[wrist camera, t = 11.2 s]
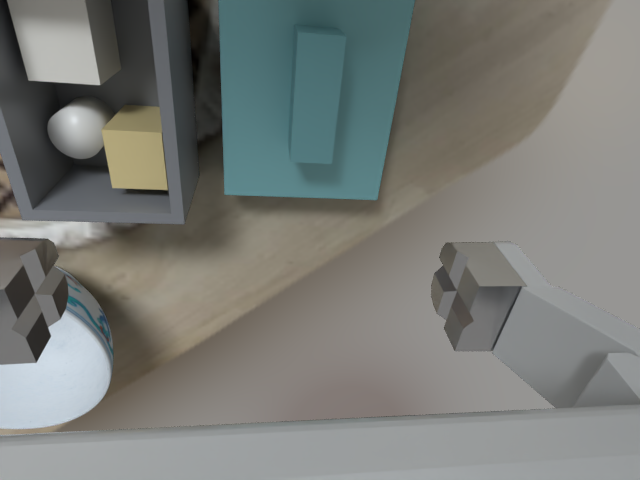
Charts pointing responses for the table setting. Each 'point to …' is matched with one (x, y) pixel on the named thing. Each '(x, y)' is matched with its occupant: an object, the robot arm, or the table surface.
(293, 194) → the lid
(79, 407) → the chinaware
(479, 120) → the table surface
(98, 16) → the storage box
